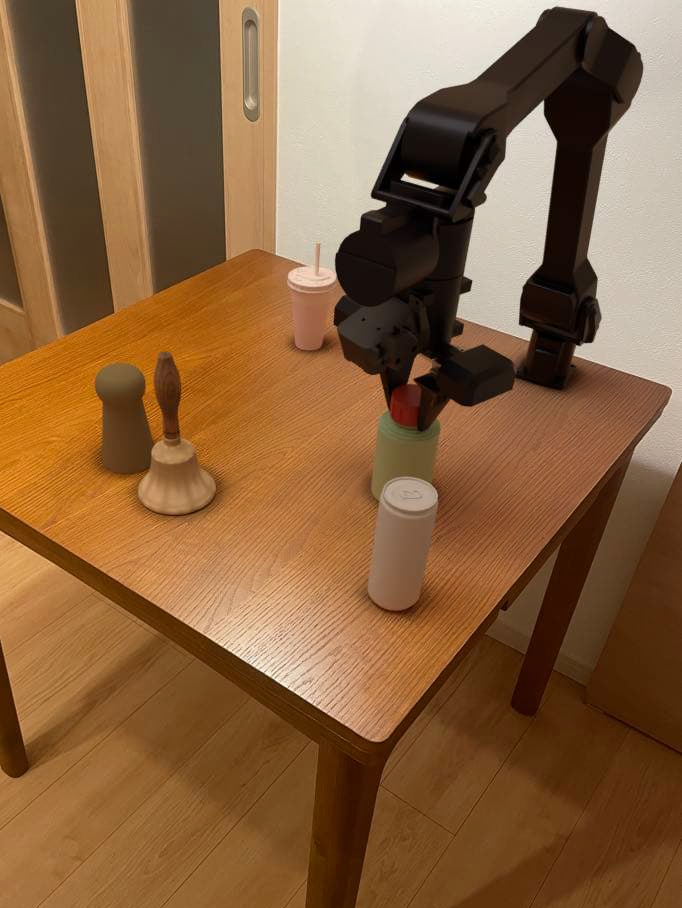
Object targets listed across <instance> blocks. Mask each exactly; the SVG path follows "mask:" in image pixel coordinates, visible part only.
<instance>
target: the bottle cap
mask: <svg viewBox="0 0 682 908" xmlns="http://www.w3.org/2000/svg"><path fill="white" fill-rule="evenodd" d="M420 397H421V388H420V387H419V386H418V385H417V384H416V383H407V384H405V385H401V386H398V387H396V388H395V389H394V390H393V392H392V398H391V402H390V410H389V412H390V416H391V418H392V419H393V420H394V421H395V422H396V423H398V424H401V425H404V426H409V427H418V413H419V405H420Z"/></svg>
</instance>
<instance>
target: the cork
mask: <svg viewBox="0 0 682 908" xmlns="http://www.w3.org/2000/svg"><path fill="white" fill-rule="evenodd" d="M94 379H95V380H94V390H95V393H96V395H97V397H98V399H99V400H100V401H101V403H102V420H101V421H102V425H101V428H102V429H101V430H102V431H101V433H102V434H101V445H102V446H101V462H102V465H103V466H104V467H105V468H106V469H107V470H109V471H111V472H113V473H116V474H122V475H123V474H124V475H130V474H131V475H132V474H137V473H141V472H144V471H146V470H147V469H150V467H151V457H152V455H151V453H152V449H153V447H154V445H155V443H154V439H153V435H152V433H151V428H150V423H149V420H148V416H147V412H146V408H145V405H144V401H143V397H144V396H145V394H146V388H147V386H146V378H145V375H144V374H143V372H142V371H141V369H140V368H138V367H137V366H136V365H133V364H130V363H127V362H125V363H124V362H116V363H111V364H107V365H106V366H103V367H102V368H101V369H99V371H98V372H97V373H96V376H95V378H94Z"/></svg>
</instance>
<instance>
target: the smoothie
mask: <svg viewBox="0 0 682 908" xmlns="http://www.w3.org/2000/svg"><path fill="white" fill-rule="evenodd" d="M314 256H315V257H314V266H313V265H309V266H300V267H296V268H294V269H292V270H290V271H289V272H288V274H287V281H286V283H287V286H288V287H289V291H290V301H291V303H290V304H291V313H292V324H293V334H294V346H296V348H298V349H300V350H303V351H316V350H319V349H321V348H322V347H323V341H324V336H325V332H326V327H327V321H328V317H329V312H330V306H331V302H332V297H333V291H334V289H335V288H336V286H337V275H336V273H335V272H333V271H332V270H330V269H328V268H326V267H321V266H320V259H321V258H320V257H321V242H320V241H317V242H315V254H314Z"/></svg>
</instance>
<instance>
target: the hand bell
mask: <svg viewBox="0 0 682 908" xmlns="http://www.w3.org/2000/svg"><path fill="white" fill-rule="evenodd" d="M153 390H154V394H155V399H156V401H157V404H158V407H159V408H160V411H161V415H162V416H161V417H162V429H163V430H162V435H163V439H161V440H159V441H157V443H154V447H153V449H152V453H151V455H152V457H151V466H150V467H149V471H148V473H147V474H146V475H144V476H143V478H142V479H141V480H140V482H139V485H138V487H137V497H138V499H139V501H140V503H141V505H143V506H144V507H145V508H147V509H148V510H150V511H152V512H155V513H157V514H161V515H162V514H163V515H167V516H180V515H181V516H182V515H186V514H190V513H193V512H196V511H199V510H201V509H203V508H205V507H206V506H207V505H208V504H209V503H211V502H212V500H213V499H214V497H215V495H216V493H217V484H216V482H215V479H214V478H213V476H212V474H210V473H209V472H208V471H206V470H205V469H204V468H202V467H201V465H200V463H199V460H198V457H197V453H196V448H195V446H194V444H193V443H192V442H191V441H189V440H188V439H185V438H181V429H180V422H179V408H180V407H179V406H180V404H181V403H180V402H181V400H182V399H181V398H182V380H181V374H180V372H179V369H178V367H177V364H176V363H175V360H174V358H173V354H172V353H171V351H168V350H167V351H165V350H164V351H160V352H159V353H158V354H157V361H156V365H155V369H154V373H153Z"/></svg>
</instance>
